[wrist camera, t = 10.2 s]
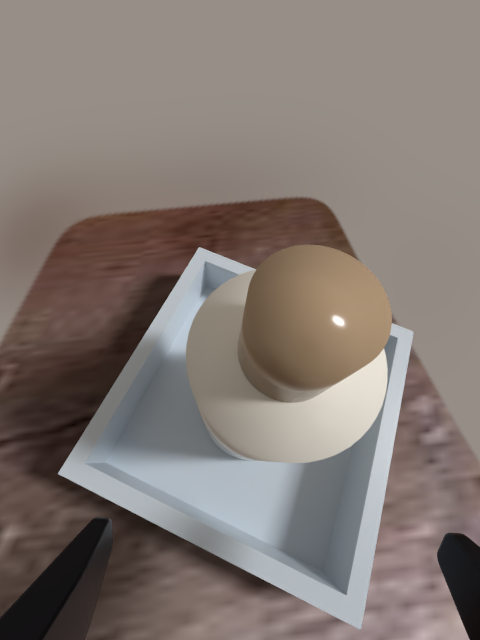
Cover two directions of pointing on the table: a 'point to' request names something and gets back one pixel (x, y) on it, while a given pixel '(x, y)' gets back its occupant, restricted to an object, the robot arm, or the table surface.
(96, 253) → the table surface
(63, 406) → the table surface
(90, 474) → the bin
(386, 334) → the dressing bottle
